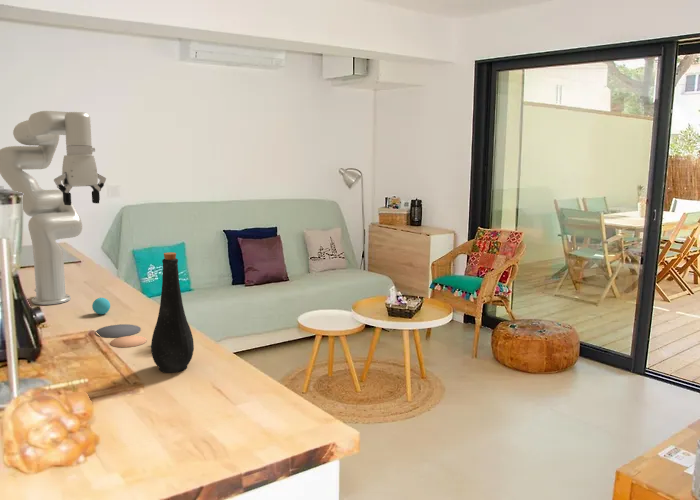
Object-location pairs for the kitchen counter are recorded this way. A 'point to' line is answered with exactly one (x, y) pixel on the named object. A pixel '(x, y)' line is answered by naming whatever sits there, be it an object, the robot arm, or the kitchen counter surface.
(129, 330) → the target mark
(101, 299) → the ball
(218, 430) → the kitchen counter surface
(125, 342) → the far mark
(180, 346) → the bottle
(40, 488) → the kitchen counter surface
